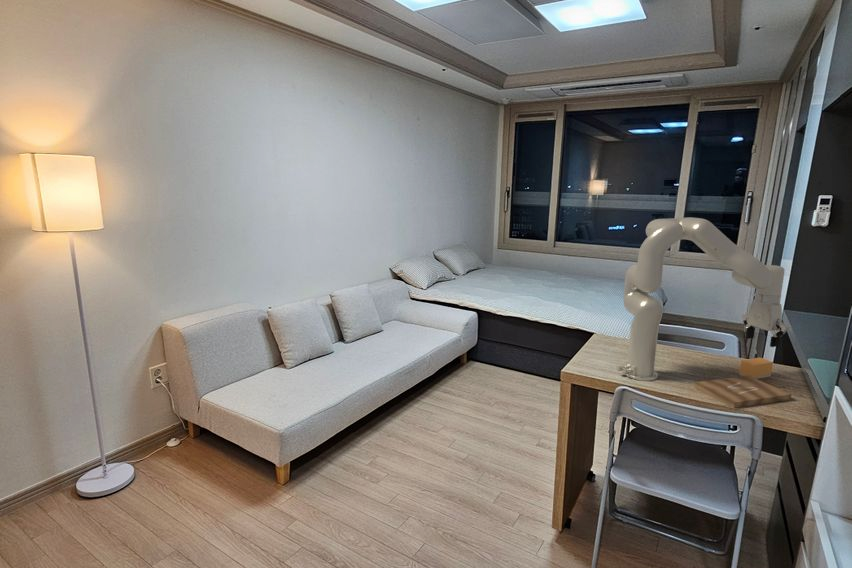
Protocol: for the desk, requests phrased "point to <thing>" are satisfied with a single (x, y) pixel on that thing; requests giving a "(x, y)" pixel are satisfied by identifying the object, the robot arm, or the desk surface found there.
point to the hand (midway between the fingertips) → (761, 342)
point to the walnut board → (742, 391)
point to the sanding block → (756, 368)
